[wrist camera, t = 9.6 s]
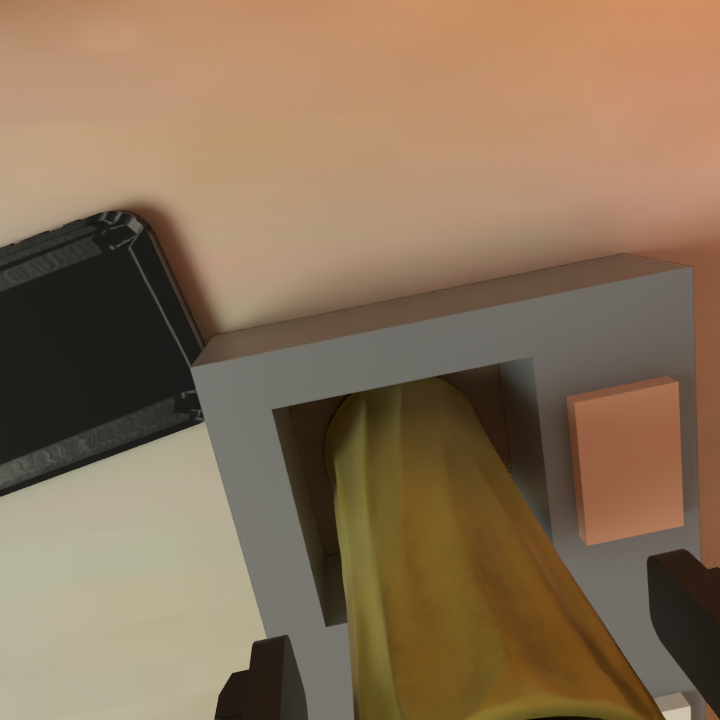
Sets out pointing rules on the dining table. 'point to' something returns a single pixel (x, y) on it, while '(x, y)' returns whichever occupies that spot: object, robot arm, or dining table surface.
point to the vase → (458, 575)
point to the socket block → (525, 433)
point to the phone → (90, 348)
